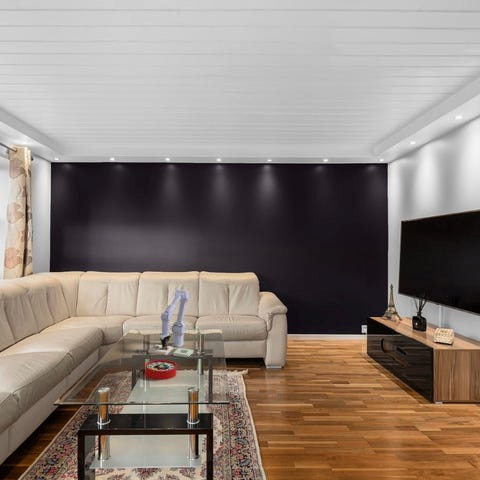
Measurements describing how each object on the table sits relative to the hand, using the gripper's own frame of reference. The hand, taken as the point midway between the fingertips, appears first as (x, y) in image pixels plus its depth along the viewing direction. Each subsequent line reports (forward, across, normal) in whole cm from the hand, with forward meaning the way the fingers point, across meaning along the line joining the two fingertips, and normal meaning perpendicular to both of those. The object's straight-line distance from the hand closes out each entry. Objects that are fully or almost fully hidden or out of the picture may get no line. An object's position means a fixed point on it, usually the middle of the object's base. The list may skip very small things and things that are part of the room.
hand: (164, 346), depth 313 cm
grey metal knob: (+4, 0, -7) cm, 8 cm away
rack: (+4, 0, +15) cm, 16 cm away
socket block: (+4, 0, -3) cm, 5 cm away
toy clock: (+4, +41, +14) cm, 44 cm away
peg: (+3, 0, 0) cm, 3 cm away
